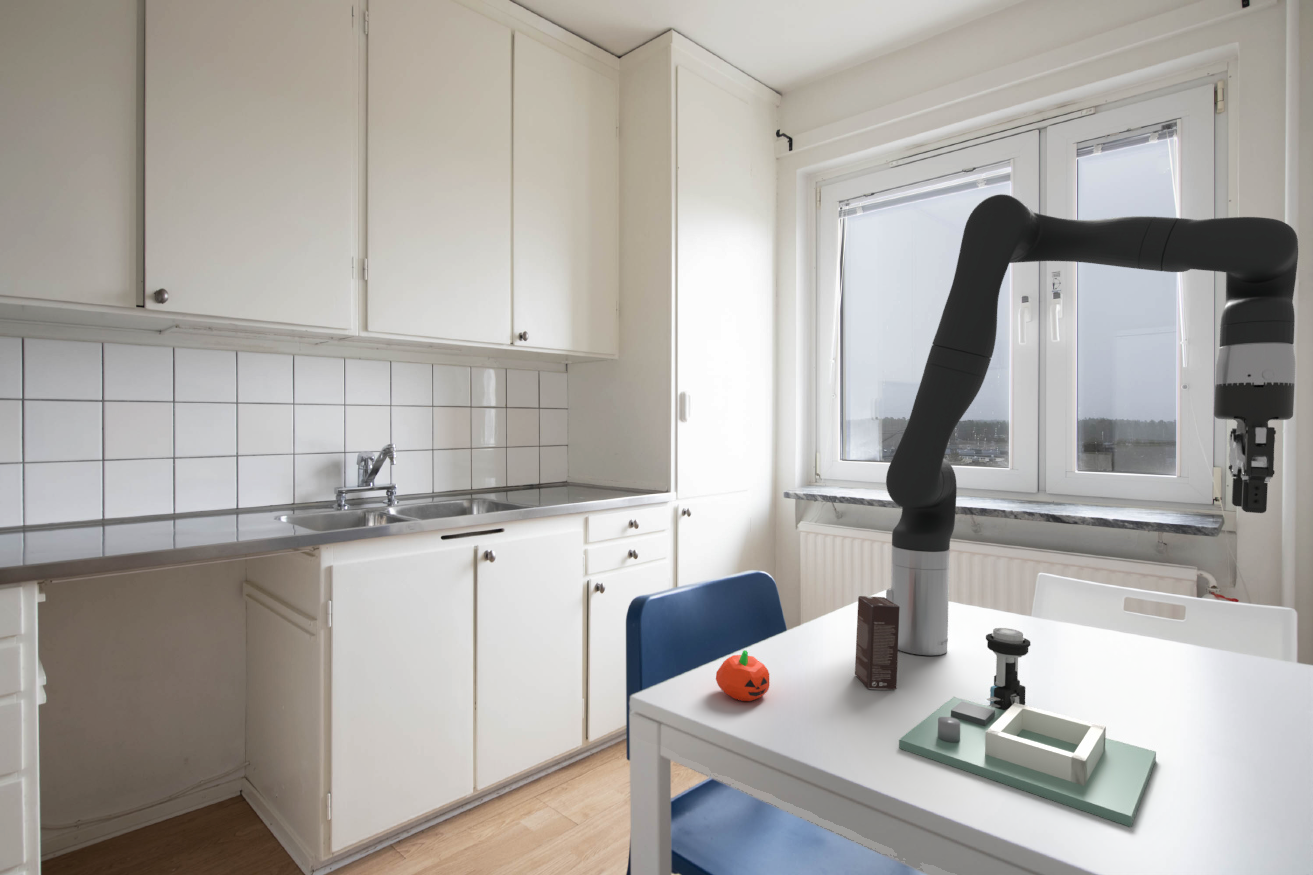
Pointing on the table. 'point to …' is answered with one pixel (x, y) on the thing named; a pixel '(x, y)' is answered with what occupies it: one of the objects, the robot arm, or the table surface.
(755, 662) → the pumpkin
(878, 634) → the box
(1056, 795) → the board
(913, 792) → the table surface
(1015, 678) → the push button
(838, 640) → the table surface
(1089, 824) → the table surface
